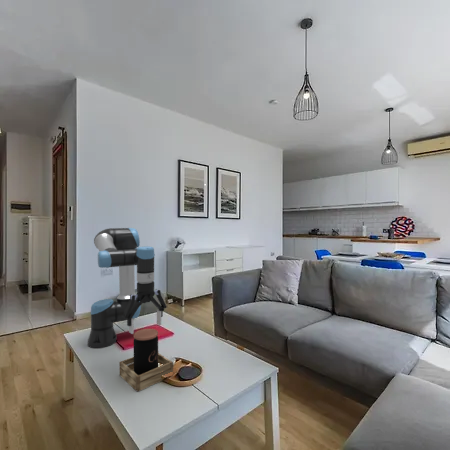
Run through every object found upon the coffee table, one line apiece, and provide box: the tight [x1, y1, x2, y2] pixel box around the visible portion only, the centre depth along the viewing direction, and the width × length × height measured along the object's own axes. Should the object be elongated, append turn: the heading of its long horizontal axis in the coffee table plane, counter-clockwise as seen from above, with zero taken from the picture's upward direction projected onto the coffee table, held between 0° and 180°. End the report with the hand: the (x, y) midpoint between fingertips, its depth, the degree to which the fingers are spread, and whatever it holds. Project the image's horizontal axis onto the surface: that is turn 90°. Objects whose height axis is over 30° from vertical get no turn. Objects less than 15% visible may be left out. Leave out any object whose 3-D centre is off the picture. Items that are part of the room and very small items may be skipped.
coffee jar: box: [133, 328, 159, 377], centre depth 124 cm, size 11×11×18 cm
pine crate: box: [118, 352, 174, 392], centre depth 125 cm, size 17×17×6 cm
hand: (145, 328), depth 124 cm, fingers open, 13 cm apart
